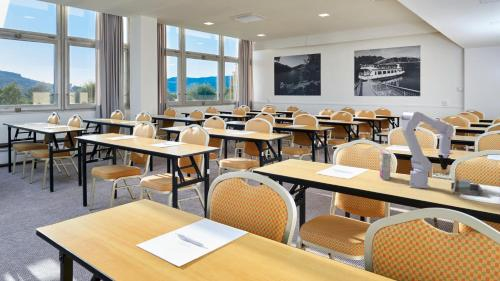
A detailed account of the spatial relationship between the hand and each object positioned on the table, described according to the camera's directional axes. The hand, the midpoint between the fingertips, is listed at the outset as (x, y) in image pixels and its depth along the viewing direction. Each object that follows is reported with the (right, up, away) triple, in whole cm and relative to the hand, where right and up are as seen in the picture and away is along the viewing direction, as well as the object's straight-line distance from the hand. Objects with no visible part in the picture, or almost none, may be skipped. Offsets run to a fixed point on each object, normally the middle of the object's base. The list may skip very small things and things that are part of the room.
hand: (443, 168), depth 215 cm
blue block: (+1, -11, -16) cm, 19 cm away
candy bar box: (-28, -8, +18) cm, 34 cm away
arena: (+4, -12, -16) cm, 20 cm away
